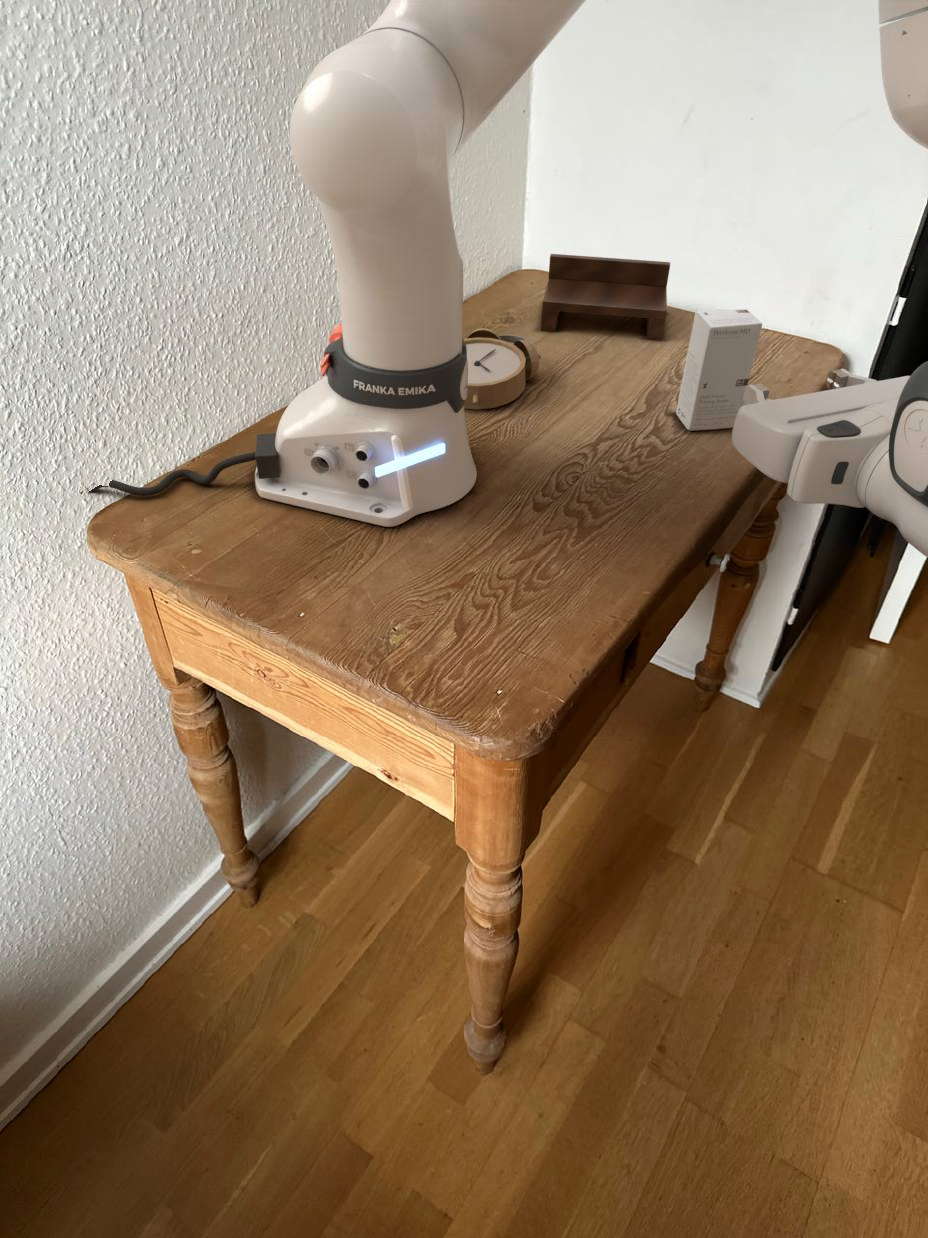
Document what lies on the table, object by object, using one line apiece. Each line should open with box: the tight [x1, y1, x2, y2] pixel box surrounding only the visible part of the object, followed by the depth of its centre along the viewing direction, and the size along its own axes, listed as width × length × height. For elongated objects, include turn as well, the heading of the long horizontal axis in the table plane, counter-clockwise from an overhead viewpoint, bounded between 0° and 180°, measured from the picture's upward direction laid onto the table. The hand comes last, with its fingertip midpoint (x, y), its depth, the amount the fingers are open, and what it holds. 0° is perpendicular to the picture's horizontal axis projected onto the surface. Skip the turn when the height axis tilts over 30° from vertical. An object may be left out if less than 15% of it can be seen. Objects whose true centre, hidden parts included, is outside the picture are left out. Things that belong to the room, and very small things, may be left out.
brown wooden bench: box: [540, 253, 671, 341], centre depth 120 cm, size 16×9×7 cm, turn 81°
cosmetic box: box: [675, 308, 763, 432], centre depth 98 cm, size 6×4×12 cm
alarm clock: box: [463, 327, 542, 411], centre depth 108 cm, size 11×5×15 cm
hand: (792, 383), depth 87 cm, fingers open, 8 cm apart
